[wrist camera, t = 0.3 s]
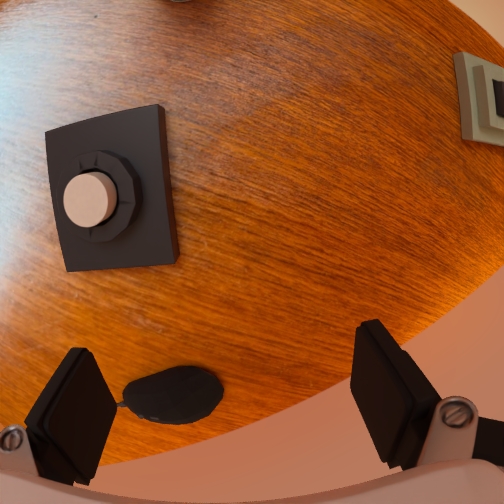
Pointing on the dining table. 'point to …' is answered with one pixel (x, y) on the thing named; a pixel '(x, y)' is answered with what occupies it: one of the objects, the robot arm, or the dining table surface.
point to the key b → (499, 97)
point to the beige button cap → (90, 199)
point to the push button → (127, 186)
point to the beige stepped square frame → (478, 99)
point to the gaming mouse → (174, 396)
